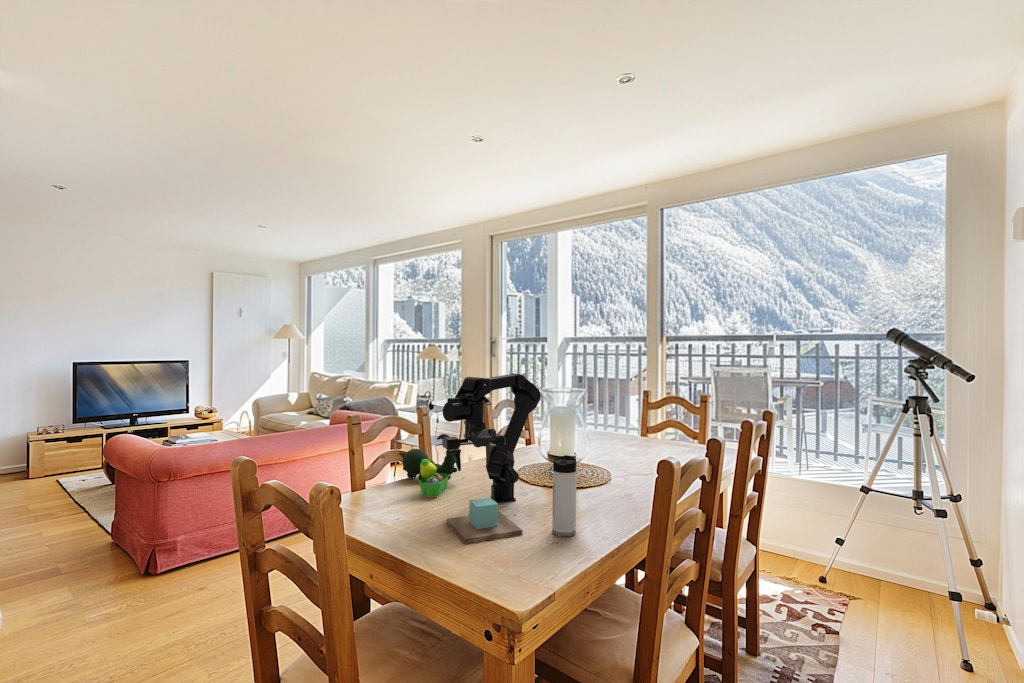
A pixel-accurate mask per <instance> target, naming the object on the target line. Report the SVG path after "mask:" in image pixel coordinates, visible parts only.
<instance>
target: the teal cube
mask: <svg viewBox="0 0 1024 683" xmlns="http://www.w3.org/2000/svg"><path fill="white" fill-rule="evenodd" d="M468 501H469V502H468V503H469V506H468V508H469V513H468V515H469V522H470V523H471V524H472V525H473V526H474V527H475V528H476V529H483V528H489V527H496V526H498V511H499V503H497V502H496V501H494V500H493V499H492V498H491V497H484V498H482V497H481V498H477V499H469V500H468Z"/></svg>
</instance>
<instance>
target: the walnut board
mask: <svg viewBox="0 0 1024 683" xmlns="http://www.w3.org/2000/svg"><path fill="white" fill-rule="evenodd" d="M445 522H446V525H448V527H450V529H451V528H452V529H453V530H454V531H453V530H452V531H453V532H454V533H455V534H456V536H459V537H460V538H459V537H458V538H459V539H460V540H461V542H463V543H464V544H465V545H466V543H467V544H472V542H473V543H477V541H479V542H485V541H491V540H496V539H497V538H498V539H503V538H508V537H515V535H516V536H519V535H520V536H521V534H522V535H523V529H522V528H520V526H518V525H517V524H516V523H514V522H513V521H512V520H511V519H509V518H508V517H507V516H506V515H504V514H503V513H502V512H501V511H499V510H498V526H496V527H489V528H483V529H476V528H475V527H474V526H473V525H472V524H471V523H470V522H469V514H468V515H463V516H462V515H461V516H455V517H448V518H447V517H446V519H445ZM484 540H485V541H484Z"/></svg>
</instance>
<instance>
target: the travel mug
mask: <svg viewBox="0 0 1024 683" xmlns="http://www.w3.org/2000/svg"><path fill="white" fill-rule="evenodd" d="M552 466H553V467H552V520H551V522H552V523H551V525H552V526H551V528H552V530H551V531H552V533H553V535H555V534H556V535H555V536H557V535H559V536H558V537H562V536H569V537H572V535H573V536H575V534H576V533H577V459H576V458H575V457H572V456H571V455H568V454H567V455H566V454H565V455H563V456H556V457H554V458H553V460H552Z"/></svg>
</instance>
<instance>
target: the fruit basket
mask: <svg viewBox="0 0 1024 683" xmlns="http://www.w3.org/2000/svg"><path fill="white" fill-rule="evenodd" d="M420 468H421V470H420V472H421V475H422V477H423V478H422V479H421V480H419V481H418V484H419V487H420V491H421V494H422V495H421V496H422V497H427V496H436V497H435V498H438V497H440V495H441V494H442V493H443V492H444V491H445V490H446V489H447V484H448V481H449V480H448V478H449V474H440V473H436V470H437V468H436V466H435V465H434V464H433V463H431V462H430V461H429V460H427V459H424V460H422V461H421V464H420ZM441 492H442V493H441ZM439 494H440V495H439ZM437 496H438V497H437Z"/></svg>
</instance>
